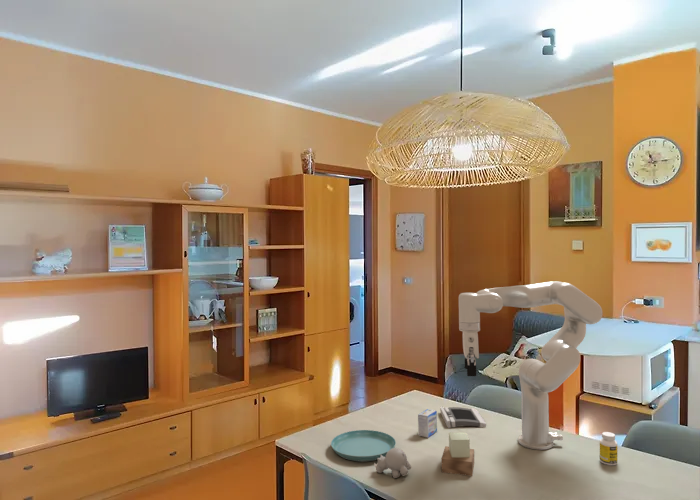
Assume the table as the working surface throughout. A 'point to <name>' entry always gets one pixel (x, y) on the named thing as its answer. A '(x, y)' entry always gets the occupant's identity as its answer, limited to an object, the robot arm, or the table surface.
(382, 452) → the teal plate
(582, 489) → the table surface
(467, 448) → the sage cube
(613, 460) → the supplement bottle
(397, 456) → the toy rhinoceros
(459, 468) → the walnut block
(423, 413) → the medicine box
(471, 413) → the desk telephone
